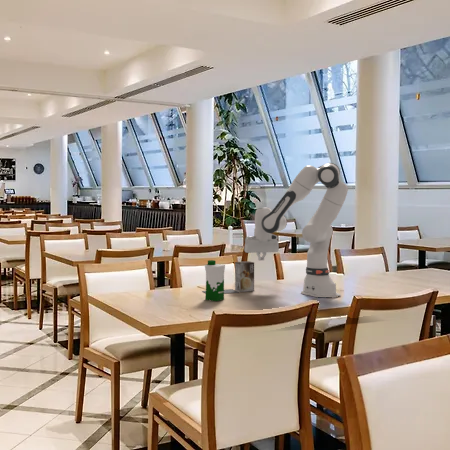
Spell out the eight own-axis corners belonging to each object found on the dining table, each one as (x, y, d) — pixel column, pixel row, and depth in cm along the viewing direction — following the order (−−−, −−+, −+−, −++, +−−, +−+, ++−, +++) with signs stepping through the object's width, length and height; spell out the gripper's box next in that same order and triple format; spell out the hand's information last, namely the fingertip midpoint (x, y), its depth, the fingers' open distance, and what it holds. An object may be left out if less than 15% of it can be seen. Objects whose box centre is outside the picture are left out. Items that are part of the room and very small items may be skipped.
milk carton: (212, 297, 305) (212, 259, 304) (226, 299, 300) (227, 260, 299) (202, 300, 298) (203, 261, 296) (217, 302, 293) (217, 262, 292)
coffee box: (248, 289, 331) (249, 261, 330) (254, 290, 326) (254, 262, 325) (234, 290, 327) (234, 261, 326) (240, 292, 321) (240, 263, 320)
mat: (239, 292, 320) (239, 292, 320) (208, 294, 313) (208, 294, 313) (231, 289, 329) (231, 289, 329) (202, 291, 322) (202, 291, 322)
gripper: (247, 236, 322) (246, 261, 323) (280, 236, 330) (279, 260, 331) (242, 235, 327) (242, 260, 328) (275, 235, 335) (274, 259, 336)
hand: (261, 260), depth 330 cm, fingers closed
